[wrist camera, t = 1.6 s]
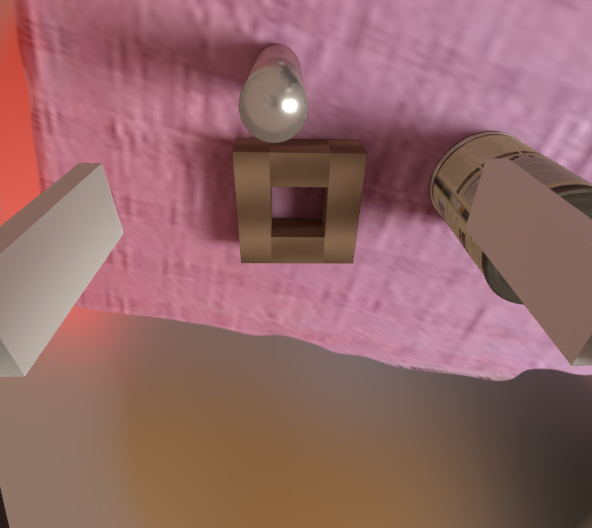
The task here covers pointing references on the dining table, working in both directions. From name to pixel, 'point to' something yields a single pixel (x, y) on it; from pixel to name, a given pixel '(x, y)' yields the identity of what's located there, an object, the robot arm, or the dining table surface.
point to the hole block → (298, 173)
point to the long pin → (274, 96)
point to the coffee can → (465, 178)
